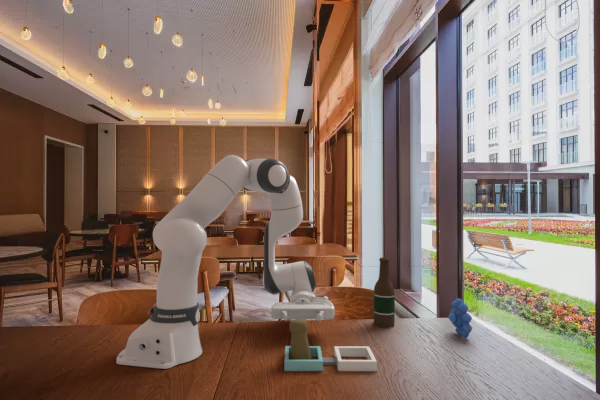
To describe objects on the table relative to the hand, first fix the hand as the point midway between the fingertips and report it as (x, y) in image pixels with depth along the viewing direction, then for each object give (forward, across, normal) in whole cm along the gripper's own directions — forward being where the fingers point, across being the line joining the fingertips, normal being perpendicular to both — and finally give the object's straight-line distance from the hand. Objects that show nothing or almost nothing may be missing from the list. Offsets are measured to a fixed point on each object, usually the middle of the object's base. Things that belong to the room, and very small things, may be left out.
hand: (303, 318), depth 109 cm
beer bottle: (-22, +30, +9) cm, 38 cm away
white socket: (+10, +12, +9) cm, 18 cm away
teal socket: (+10, 0, +9) cm, 13 cm away
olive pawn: (+10, -1, +8) cm, 13 cm away
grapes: (-11, +52, +9) cm, 54 cm away
